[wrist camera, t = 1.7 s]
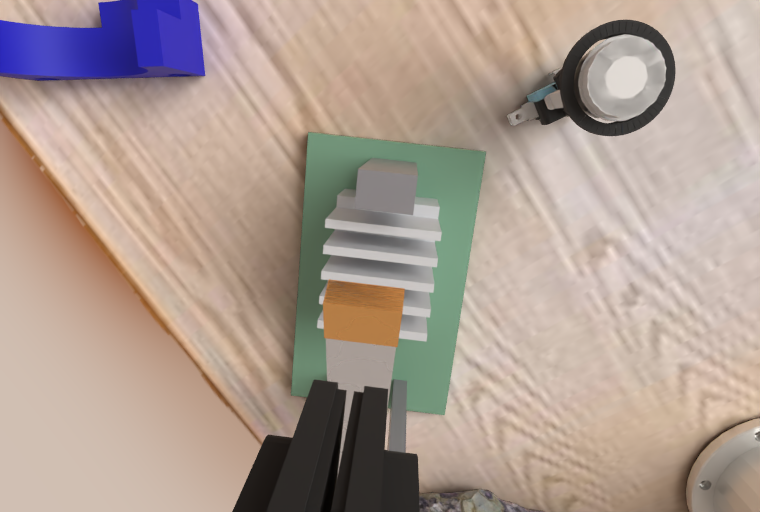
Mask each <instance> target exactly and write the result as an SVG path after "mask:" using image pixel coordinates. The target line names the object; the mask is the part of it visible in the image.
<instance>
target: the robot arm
mask: <svg viewBox="0 0 760 512" xmlns="http://www.w3.org/2000/svg"><path fill="white" fill-rule="evenodd" d="M346 392H347V390H342V389H338V382H331V381H323V380H316V379H314V380H313V383H312V386H311V388H310V391H309V394H308V397H307V400H306V402H305V405H304V408H303V411H302V414H301V416H300V419H299V422H298V425H297V428H296V430H295V433H294V436H293V438H289V437H282V436H274V435H267V436H266V438H265V440H264V442H263V444H262V446H261V449H260V451H259V453H258V455H257V458H256V460H255V462H254V464H253V467H252V469H251V471H250V473H249V476H248V478H247V480H246V482H245V485H244V487H243V489H242V491H241V494H240V496H239V498H238V500H237V503H236V505H235V507H234V509H233V512H420V506H419V478H418V456H417V454H411V453H404V452H396V451H388V450H384V447H385V432H386V417H387V401H388V389H385V388H378V387H370V386H364V392H357V391H354V394H353V399H352V404H351V410H350V415H349V420H348V425H347V430H346V436H345V441H344V446H343V451H342V457H341V462H340V467H339V458H340V449H341V439H342V430H343V421H344V412H345V402H346ZM338 467H339V472H338ZM337 476H338V477H337ZM686 499H687V506H688V509H689V511H690V512H760V418H758V419H753V420H751V421H748V422H745V423H742V424H739V425H737V426H735V427H733V428H732V429H730V430H728V431H726V432H724V433H723V434H721V435H720V436H719V437H717V438H716V439H715V440H714V441H712V442H711V443H710V444H709V445H708V446H707V447H706V448H705V449H704V450H703V452H702V453H701V454H700V455H699V457H698V458H697V460H696V461H695V463H694V465H693V466H692V469H691V472H690V474H689V477H688V480H687V487H686Z"/></svg>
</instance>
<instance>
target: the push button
mask: <svg viewBox="0 0 760 512" xmlns="http://www.w3.org/2000/svg"><path fill="white" fill-rule="evenodd" d="M603 39H606V40H605V41H603V42H602V43H600V44H599V45H597V46H596V47H595V48H593V50H591V51H589V52H588V53H587V54H586V55H585V56H584V57H583V58H582V56H583V55H584V54H585V52H586V51H587V50H588V49H589V48H590V47H591V46H592V45H593V44H595V43H596V42H597V41H599V40H603ZM553 73H554V75H555V76H554V77H553V78H554V81H555V82H554V83H551V84H549V85H547V86H545V87H543V88H541V89H539V90H537V91H535V92H533V93H531V94H529V95H527V99H528V101H529V102H527V103H525V104H523V105H521V107H522V108H520V109H518V110H516V111H514V112H512V113H510V114H508V115H507V118H508V120H509V123H510V125H517V124H519V123H521V122H523V121H525V120H527V121H528V120H530V121H531V120H533V119H536V120H539V119H540V122H541V124H542V125H547V124H550V123H552V122H554V121H556V120H559V119H561V118H563V117H569V116H570V118H571V119H572V120H573V121H574V122H575V123H576V124H577V125H578V126H579V127H581V128H582V129H584V130H586V131H588V132H590V133H593V134H597V135H603V136H619V135H624V134H628V133H631V132H634V131H636V130H638V129H640V128H642V127H644V126H645V125H647V124H648V123H649V122H650V121H652V120H653V119H654V118H655V117H656V116H657V115H658V114H659V113H660V111H661V110H662V109H663V107H664V106H665V104H666V103H667V101H668V99H669V97H670V95H671V92H672V89H673V85H674V81H675V61H674V56H673V53H672V50H671V48H670V46H669V44H668V43H667V41H666V40H665V38H664V37H663V36H662V35H661V34H660V33H659V32H658V31H657V30H655V29H654V28H653V27H651V26H649V25H647V24H645V23H642V22H639V21H634V20H617V21H612V22H608V23H605V24H603V25H600V26H598V27H597V28H595V29H593V30H591V31H590V32H588V33H587V34H585V35H584V36H583V37H582V38H581V39H580V40H579V41H578V42H577V43H576V44H575V45H574V46H573V48H572V49H571V51H570V52H569V54H568V56H567V58H566V59H565V62H564V64H563V67H561V68H559V69H557V70H555V71H553V72H551V73H549V74H548V75H550V74H553ZM517 114H518V115H519V119H518V120H517V119H516V115H517ZM588 115H590V116H592V117H594V118H601V119H603V120H606V121H616V122H613V123H609V124H607V123H602V122H599V121H596V120H594V119H593V118H591V117H590V116H588Z"/></svg>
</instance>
